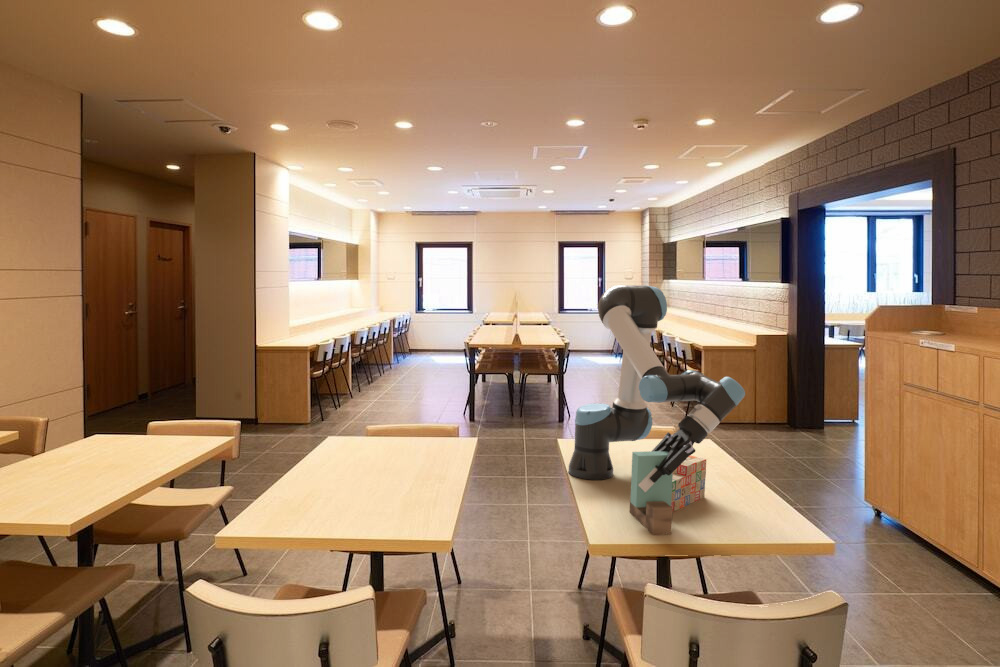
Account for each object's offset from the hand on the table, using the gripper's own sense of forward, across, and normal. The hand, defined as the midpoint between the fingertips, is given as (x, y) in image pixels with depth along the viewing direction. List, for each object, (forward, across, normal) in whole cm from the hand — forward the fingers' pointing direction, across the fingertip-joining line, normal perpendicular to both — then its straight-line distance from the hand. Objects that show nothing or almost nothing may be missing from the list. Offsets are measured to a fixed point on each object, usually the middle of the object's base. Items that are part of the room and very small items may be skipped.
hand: (638, 485), depth 166 cm
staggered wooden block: (+5, 0, +10) cm, 11 cm away
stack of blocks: (-6, -14, +21) cm, 26 cm away
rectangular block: (+1, 0, +6) cm, 6 cm away
